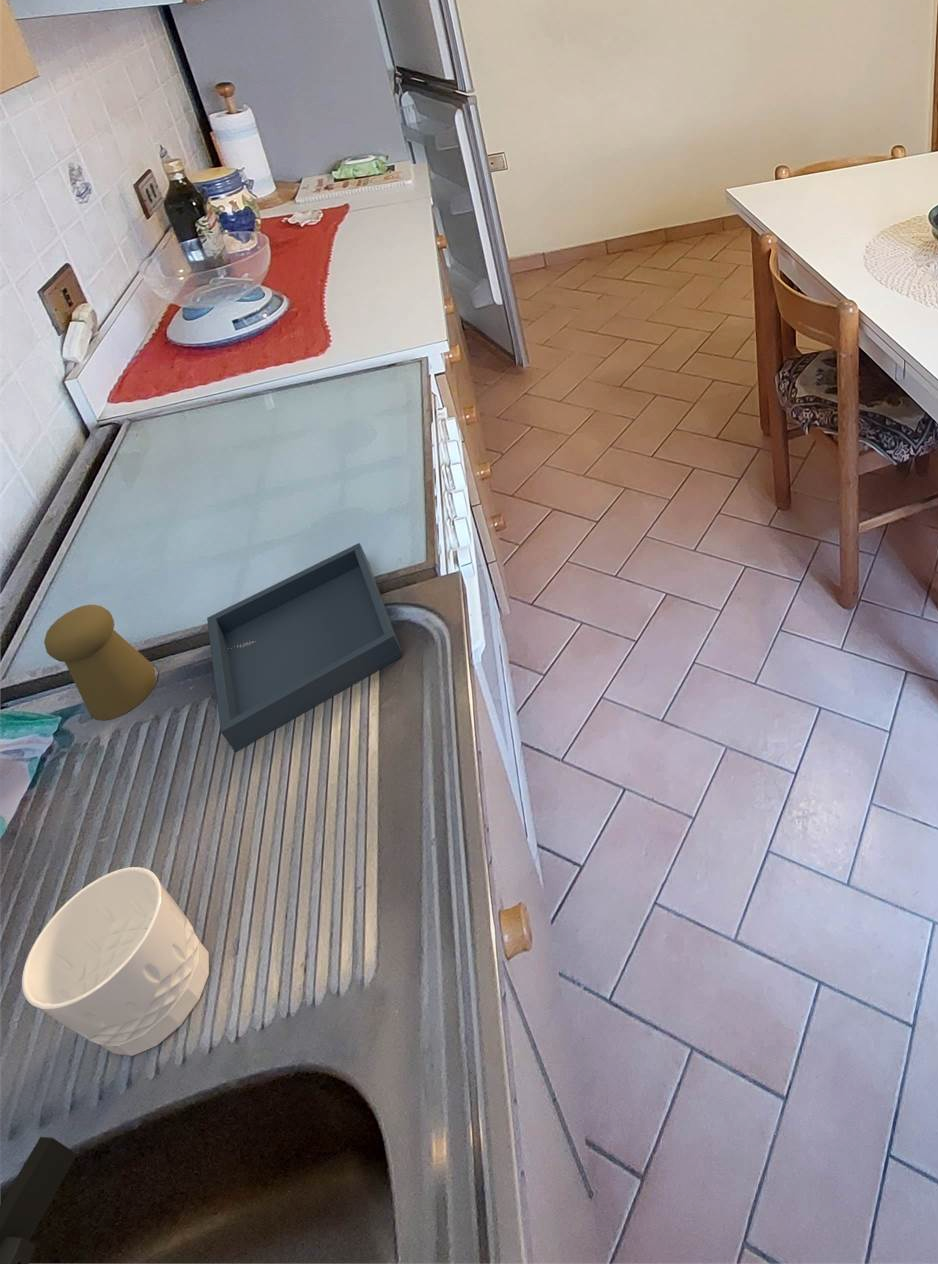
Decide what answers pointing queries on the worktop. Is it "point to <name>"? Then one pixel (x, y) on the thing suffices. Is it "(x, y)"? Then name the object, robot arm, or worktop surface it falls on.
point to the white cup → (118, 963)
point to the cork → (100, 661)
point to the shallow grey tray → (298, 645)
